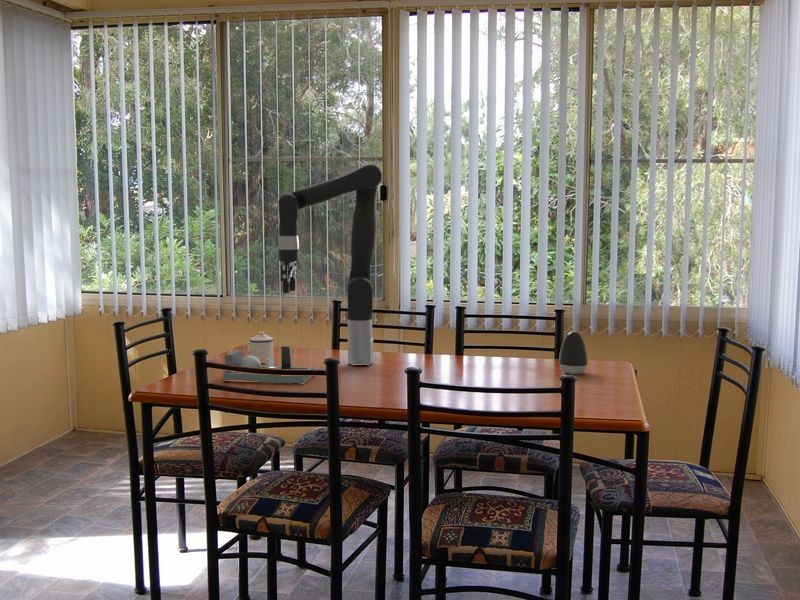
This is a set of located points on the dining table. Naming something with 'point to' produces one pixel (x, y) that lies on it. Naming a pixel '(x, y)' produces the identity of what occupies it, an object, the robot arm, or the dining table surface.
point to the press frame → (235, 359)
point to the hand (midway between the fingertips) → (289, 291)
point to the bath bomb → (250, 362)
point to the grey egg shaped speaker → (573, 354)
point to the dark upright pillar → (284, 359)
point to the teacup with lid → (260, 346)
